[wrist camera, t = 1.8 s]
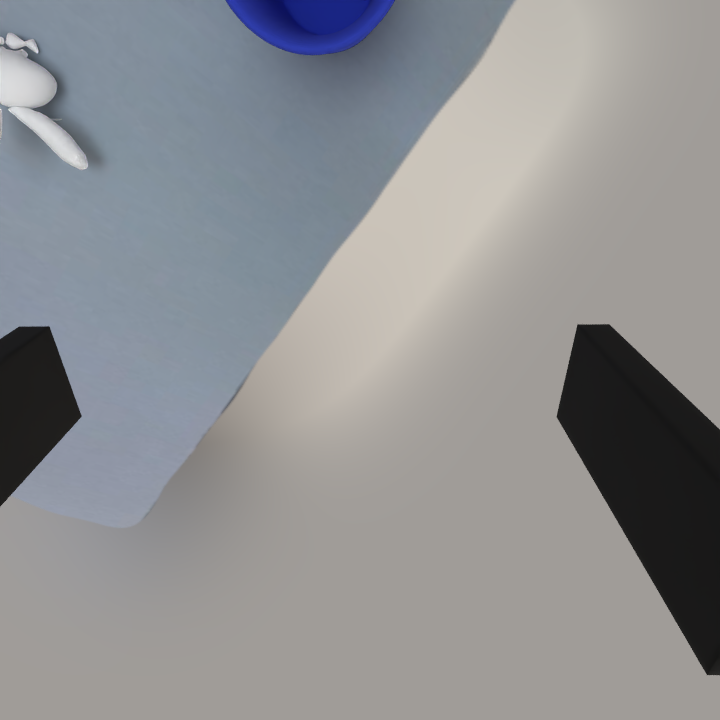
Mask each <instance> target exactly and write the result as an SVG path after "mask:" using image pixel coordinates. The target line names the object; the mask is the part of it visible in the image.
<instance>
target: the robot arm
mask: <svg viewBox="0 0 720 720" xmlns="http://www.w3.org/2000/svg"><path fill="white" fill-rule="evenodd" d="M81 417H82V416H81V413H80V411H79V408H78V405H77V402H76V399H75V397H74V394H73V391H72V388H71V385H70V383H69V380H68V377H67V374H66V372H65V369H64V366H63V363H62V360H61V358H60V355H59V352H58V349H57V346H56V344H55V341H54V338H53V335H52V333H51V330H50V327H18V328H16V329H15V330H13V331H12V332H10V333H9V334H7V335H6V336H4V337H3V338H1V339H0V506H1V505H2V504H3V503H4V502H5V501H6V500H7V498H8V497H9V496H10V495H11V494H12V493H13V492H14V491H15V490H16V489H17V487H18V486H19V485H20V484H21V483H22V482H23V481H24V480H25V479H26V477H27V476H28V475H29V474H30V473H31V472H32V471H33V470H34V469H35V468H36V466H37V465H38V464H39V463H40V462H41V461H42V460H43V459H44V458H45V456H46V455H47V454H48V453H49V452H50V451H51V450H52V449H53V448H54V447H55V445H56V444H57V443H58V442H59V441H60V440H61V439H62V438H63V437H64V435H65V434H66V433H67V432H68V431H69V430H70V429H71V428H72V427H73V425H74V424H75V423H76V422H77V421H78V420H79V419H80V418H81ZM557 418H558V420H559V422H560V423H561V425H562V427H563V428H564V430H565V432H566V434H567V435H568V437H569V439H570V440H571V442H572V444H573V446H574V447H575V449H576V451H577V453H578V454H579V456H580V458H581V459H582V461H583V463H584V465H585V466H586V468H587V470H588V471H589V473H590V475H591V477H592V478H593V480H594V482H595V483H596V485H597V487H598V489H599V490H600V492H601V494H602V496H603V497H604V499H605V501H606V502H607V504H608V506H609V508H610V509H611V511H612V513H613V514H614V516H615V518H616V519H617V521H618V523H619V525H620V526H621V528H622V530H623V532H624V533H625V535H626V537H627V538H628V540H629V542H630V543H631V545H632V547H633V549H634V550H635V552H636V553H637V556H638V557H639V559H640V560H641V562H642V564H643V566H644V568H645V569H646V571H647V573H648V574H649V576H650V578H651V579H652V581H653V583H654V585H655V586H656V588H657V590H658V591H659V593H660V595H661V597H662V598H663V600H664V602H665V604H666V605H667V607H668V609H669V610H670V612H671V614H672V615H673V617H674V619H675V621H676V622H677V624H678V626H679V628H680V629H681V631H682V633H683V634H684V636H685V638H686V639H687V641H688V643H689V645H690V646H691V648H692V650H693V652H694V653H695V655H696V657H697V658H698V660H699V662H700V664H701V665H702V667H703V669H704V670H705V672H706V674H707V675H720V429H719V428H717V427H716V426H715V425H714V424H713V423H712V422H711V421H710V420H709V419H708V418H707V417H706V416H705V415H704V414H703V413H702V412H701V411H700V410H698V408H696V407H695V406H694V405H693V404H692V403H691V402H690V401H689V400H688V399H687V398H686V397H685V396H684V395H683V394H682V393H681V392H680V391H679V390H677V388H675V387H674V386H673V385H672V384H671V383H670V382H669V381H668V380H667V379H666V378H665V377H664V376H663V375H662V374H661V373H660V372H659V371H658V370H656V369H655V368H654V367H653V366H652V365H651V364H650V363H649V362H648V361H647V360H646V359H645V358H644V357H643V356H642V355H641V354H640V353H638V352H637V350H636V349H634V348H633V347H632V346H631V345H630V344H629V343H628V342H627V341H626V340H625V339H624V338H623V337H622V336H621V335H620V334H619V333H618V332H617V331H615V329H613V328H612V327H611V326H610V325H609V324H607V325H606V324H605V325H604V324H603V325H577V330H576V334H575V338H574V343H573V347H572V351H571V356H570V360H569V364H568V369H567V373H566V378H565V382H564V386H563V391H562V395H561V400H560V404H559V409H558V413H557Z"/></svg>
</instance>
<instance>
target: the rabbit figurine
mask: <svg viewBox="0 0 720 720" xmlns="http://www.w3.org/2000/svg"><path fill="white" fill-rule="evenodd" d="M3 44H4V38H2V37H1V36H0V45H3ZM6 44H7V45H8V46H9V47H10V48H12V49H19V48H21V47H23V46H27V47H29V48H30V49H31V50H32V51H34V52H35V53H37V54H38V52H39V51H38V47H37V44H36V42H35V40H34V39H30V40H27V41H25V42H24V41H23V40H21V39H20V38H19V37H18V36H16V35H15V34H13V33H8V34H7V37H6ZM27 56H28V54H27V52H26V51H24V50H23V49H21V50H17V51H13V50H8V49H5V48H4V47H3V46H0V104H2V105H5V106H7V107H11V108H9V109H8V110H9V111H10V112H11V113H12V114H14V115H15V116H16V117H17V118H18V119H19V120H20V121H21V122H23V123H24V124H25V125H27V126H28V127H29V128H30V129H31V130H33V131H34V132H35V133H36V134H37V135H38V136H39V137H40V138H41V139H42V140H43V141H44V142H45V143H46V144H47V145H48V146H49V147H50V148H51V149H52V150H53V151H54V152H55V153H56V154H57V155H58V156H59V157H60V158H61V159H62V160H64V161H65V162H66V163H68V164H70V165H71V166H73V167H76V168H78V169H80V170H84V169H86V168H88V161H87V158H86V155H85V153H84V152H83V151H82V150H81V149H80V147H79V146H78V145H77V143H76V142H75V141H74V139H73V138H72V137H71V136H70V135H69V134H68V133H67V132H66V131H65V130H64V129H63V128H61V127H60V126H59V125H57V124H56V123H55V122H54V121H53V120H62V119H50V118H49V117H47V116H45V115H44V114H42V113H40V112H36V111H34V110H32V108H37V107H41V106H43V105H45V104H47V103H48V102H49V101H51V100H52V98H53V97H54V96H55V93H56V91H57V83H56V81H55V79H54V77H53V76H52V75H51V74H50V73H49V72H48V71H47V70H46V69H45V68H44V67H42V66H40V65H39V64H37V63H36V62H33V61H31V60H30V59H28V58H27ZM1 137H2V110H1V108H0V140H1Z"/></svg>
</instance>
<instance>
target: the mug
mask: <svg viewBox="0 0 720 720" xmlns="http://www.w3.org/2000/svg"><path fill="white" fill-rule="evenodd" d="M394 1H395V0H226V2H227V3H228V5H229V6H230V8H231V9H232V10H233V12H234V13H235V14H236V16H237V17H238V18H239V19H240V20H241V21H242V22H243V23H244V24H245V25H246V26H247V27H248V28H249V29H250V30H251V31H252V32H253V33H255V34H256V35H257V36H259V37H260V38H261V39H263V40H264V41H266V42H268V43H269V44H271V45H273V46H275V47H277V48H280V49H282V50H285V51H288V52H292V53H296V54H303V55H322V54H330V53H337V52H341V51H344V50H347V49H349V48H351V47H353V46H355V45H356V44H358V43H359V42H360V41H362V40H363V39H364V38H365V37H366V36H367V35H368V34H369V33H370V32H371V31H372V30H373V29H374V28H375V27H376V26H377V25H378V23H379V22H380V21H381V20H382V19H383V18H384V16H385V15H386V13H387V12H388V11H389V9H390V8H391V6H392V4H393V3H394Z"/></svg>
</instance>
